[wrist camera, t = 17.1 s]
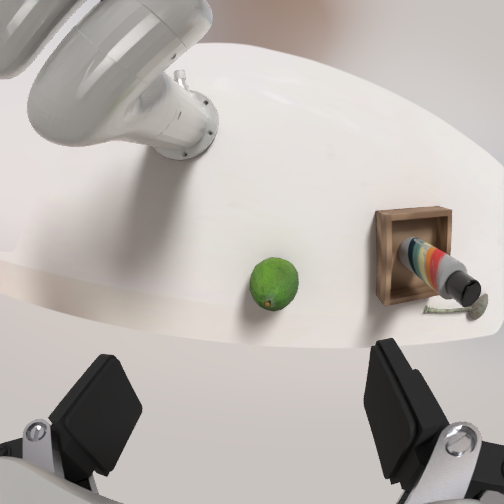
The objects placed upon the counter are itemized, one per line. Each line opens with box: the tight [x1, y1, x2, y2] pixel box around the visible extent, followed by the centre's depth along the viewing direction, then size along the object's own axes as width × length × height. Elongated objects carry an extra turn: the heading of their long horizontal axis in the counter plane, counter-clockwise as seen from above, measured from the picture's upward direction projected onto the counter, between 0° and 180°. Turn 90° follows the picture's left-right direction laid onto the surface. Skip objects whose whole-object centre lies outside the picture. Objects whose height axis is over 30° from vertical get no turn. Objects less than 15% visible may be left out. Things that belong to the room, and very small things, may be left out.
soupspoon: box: [424, 294, 488, 319], centre depth 46 cm, size 22×3×7 cm
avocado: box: [250, 257, 299, 311], centre depth 42 cm, size 8×8×12 cm
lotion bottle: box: [398, 237, 481, 307], centre depth 34 cm, size 6×6×20 cm
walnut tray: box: [376, 206, 452, 306], centre depth 43 cm, size 16×14×5 cm
